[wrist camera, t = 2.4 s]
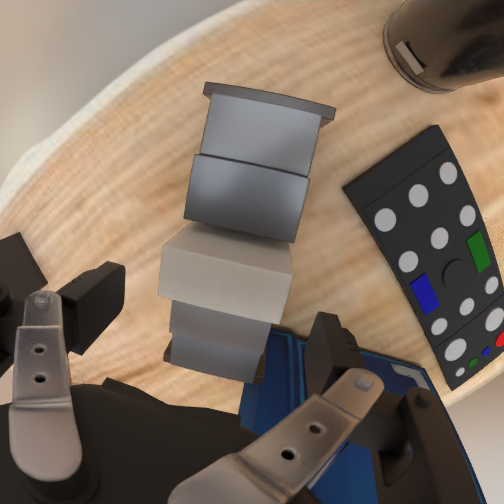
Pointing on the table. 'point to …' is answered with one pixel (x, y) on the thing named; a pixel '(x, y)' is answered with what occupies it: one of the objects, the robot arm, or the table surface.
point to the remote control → (436, 250)
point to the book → (295, 393)
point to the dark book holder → (19, 268)
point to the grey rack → (244, 211)
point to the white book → (227, 271)
